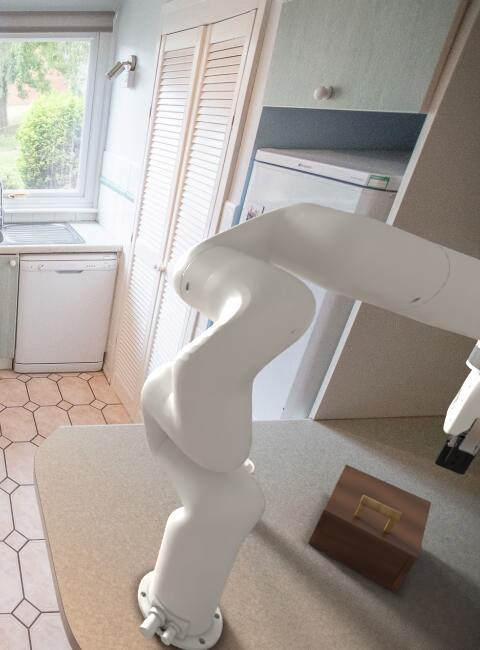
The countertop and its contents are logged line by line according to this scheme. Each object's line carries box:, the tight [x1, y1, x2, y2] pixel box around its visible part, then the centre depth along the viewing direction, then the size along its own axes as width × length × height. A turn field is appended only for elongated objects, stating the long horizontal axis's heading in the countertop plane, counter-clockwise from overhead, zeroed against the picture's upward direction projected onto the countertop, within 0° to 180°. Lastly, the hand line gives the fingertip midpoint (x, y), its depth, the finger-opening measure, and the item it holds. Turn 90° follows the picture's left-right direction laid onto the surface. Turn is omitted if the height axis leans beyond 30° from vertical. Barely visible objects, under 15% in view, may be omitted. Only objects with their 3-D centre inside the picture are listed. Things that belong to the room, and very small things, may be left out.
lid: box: [322, 464, 432, 562], centre depth 80 cm, size 16×13×5 cm
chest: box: [307, 511, 416, 593], centre depth 84 cm, size 16×13×9 cm
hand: (449, 466), depth 69 cm, fingers closed
